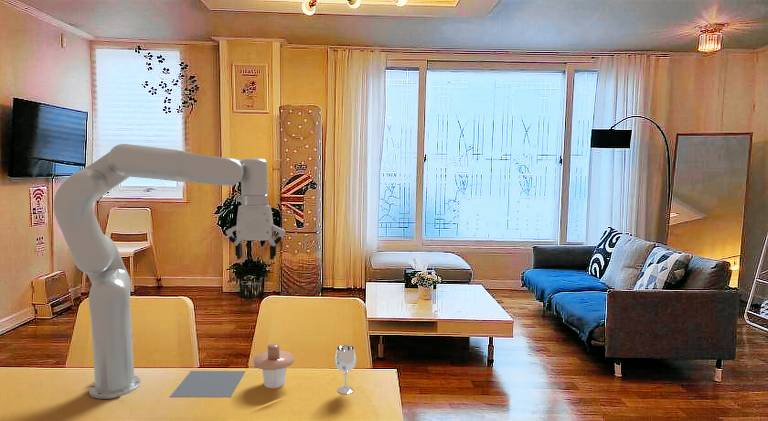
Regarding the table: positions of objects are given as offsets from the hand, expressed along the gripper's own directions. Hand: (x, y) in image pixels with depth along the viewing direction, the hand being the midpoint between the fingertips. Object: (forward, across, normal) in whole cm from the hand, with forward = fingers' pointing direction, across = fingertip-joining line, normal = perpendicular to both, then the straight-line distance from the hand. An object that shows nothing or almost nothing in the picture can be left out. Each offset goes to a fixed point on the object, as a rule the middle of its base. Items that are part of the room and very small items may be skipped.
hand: (256, 258), depth 154 cm
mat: (+33, -10, -13) cm, 37 cm away
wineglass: (+34, +28, -15) cm, 46 cm away
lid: (+26, +8, -12) cm, 30 cm away
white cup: (+34, +8, -12) cm, 37 cm away
